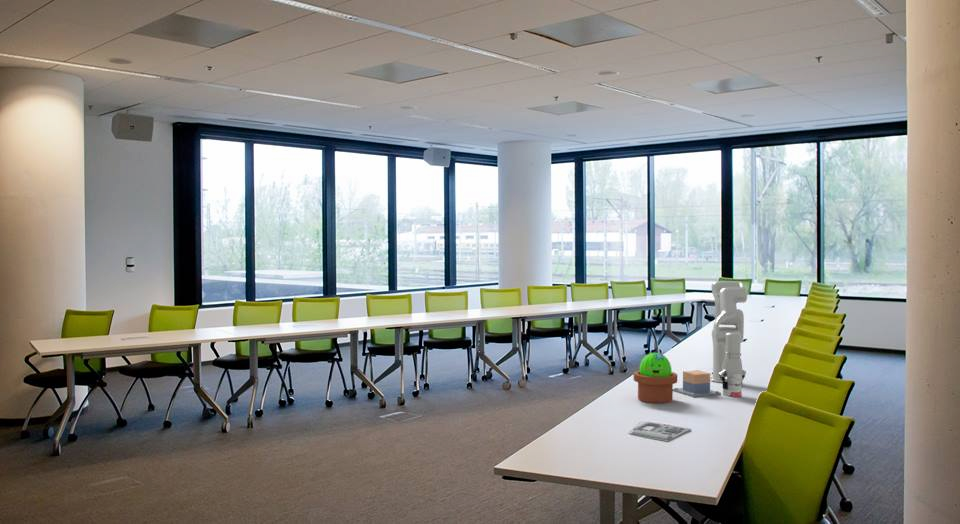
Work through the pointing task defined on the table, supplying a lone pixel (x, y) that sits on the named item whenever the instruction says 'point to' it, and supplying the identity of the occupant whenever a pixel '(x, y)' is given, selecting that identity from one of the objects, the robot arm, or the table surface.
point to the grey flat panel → (660, 432)
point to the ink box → (734, 386)
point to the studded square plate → (696, 384)
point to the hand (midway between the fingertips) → (732, 388)
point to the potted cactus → (655, 379)
